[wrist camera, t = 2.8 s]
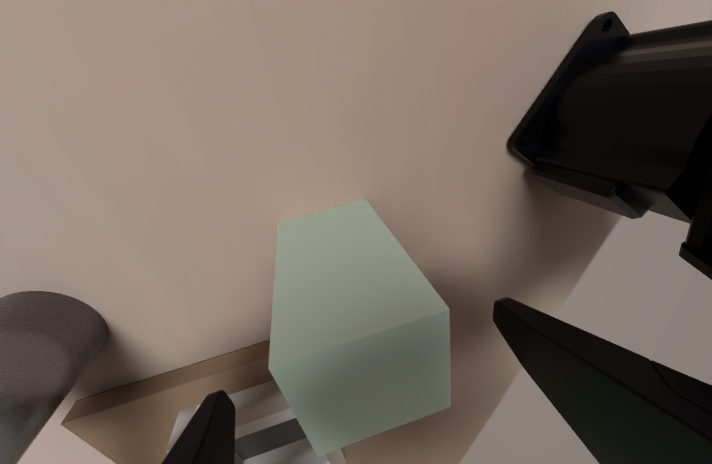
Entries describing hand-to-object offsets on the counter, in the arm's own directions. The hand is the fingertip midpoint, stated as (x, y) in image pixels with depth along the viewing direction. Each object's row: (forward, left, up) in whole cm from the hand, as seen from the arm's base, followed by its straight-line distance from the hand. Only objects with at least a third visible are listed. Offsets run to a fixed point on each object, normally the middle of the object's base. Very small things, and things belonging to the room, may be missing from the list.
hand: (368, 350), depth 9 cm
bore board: (+13, +2, -7) cm, 15 cm away
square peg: (0, 0, -7) cm, 7 cm away
